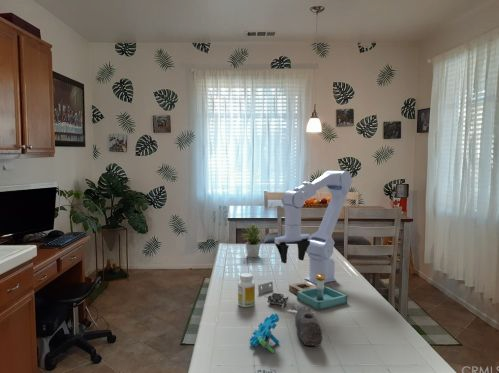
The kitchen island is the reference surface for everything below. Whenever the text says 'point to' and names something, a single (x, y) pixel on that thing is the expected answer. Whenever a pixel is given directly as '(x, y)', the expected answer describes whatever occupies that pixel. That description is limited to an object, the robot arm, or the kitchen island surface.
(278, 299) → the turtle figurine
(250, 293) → the supplement bottle
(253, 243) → the house plant
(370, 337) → the kitchen island surface
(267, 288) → the bracket
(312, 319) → the perforated stone tool
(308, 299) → the tray
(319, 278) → the pin
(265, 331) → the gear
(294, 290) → the socket
